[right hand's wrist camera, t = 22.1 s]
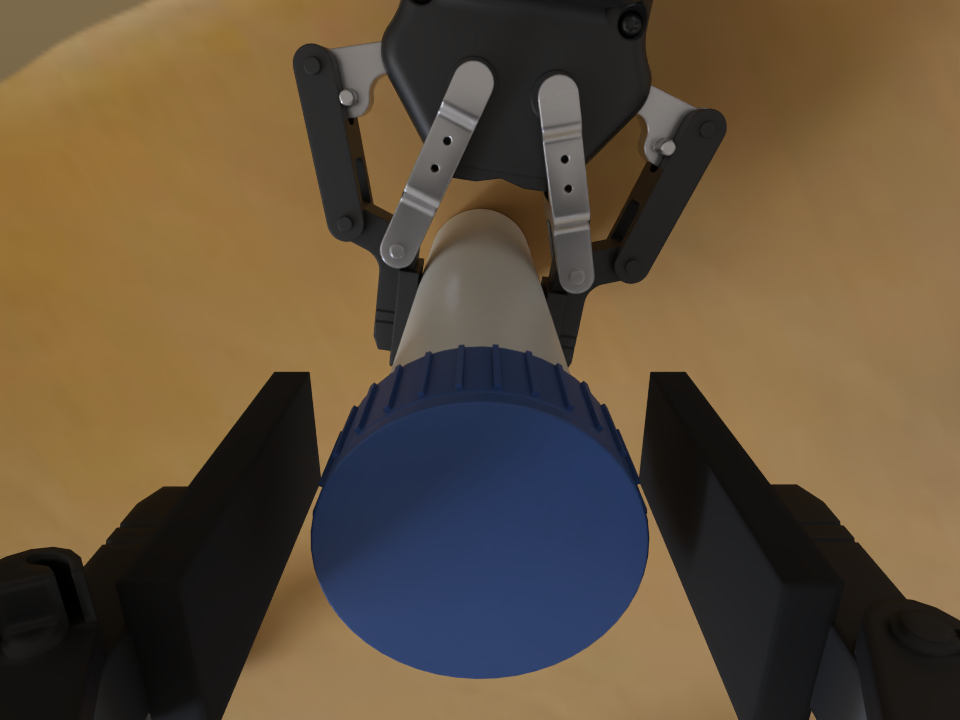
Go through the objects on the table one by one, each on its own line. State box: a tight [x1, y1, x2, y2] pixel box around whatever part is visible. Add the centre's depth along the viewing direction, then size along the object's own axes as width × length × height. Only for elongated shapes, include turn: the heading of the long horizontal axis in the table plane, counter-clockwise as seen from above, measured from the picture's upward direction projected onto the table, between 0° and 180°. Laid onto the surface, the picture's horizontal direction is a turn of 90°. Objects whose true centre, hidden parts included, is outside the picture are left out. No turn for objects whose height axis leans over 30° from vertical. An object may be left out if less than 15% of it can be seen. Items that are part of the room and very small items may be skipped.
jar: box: [390, 209, 570, 374], centre depth 20 cm, size 4×4×20 cm
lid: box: [311, 344, 649, 679], centre depth 11 cm, size 6×6×2 cm
